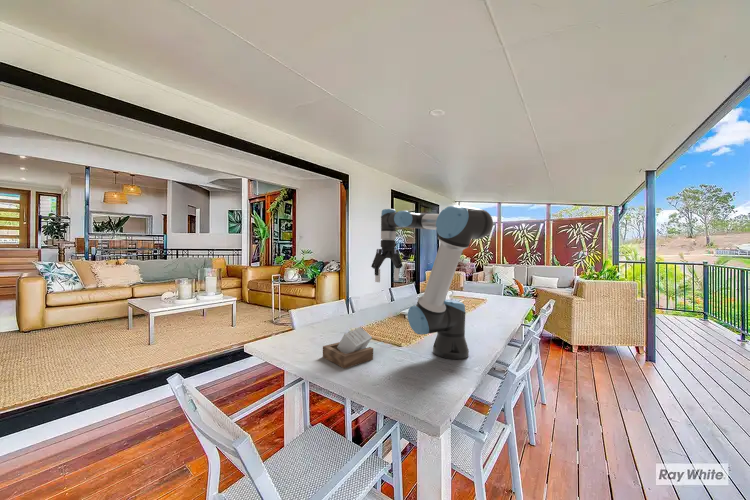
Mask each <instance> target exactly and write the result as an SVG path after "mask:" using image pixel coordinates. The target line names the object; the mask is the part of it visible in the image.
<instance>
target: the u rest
mask: <svg viewBox="0 0 750 500" xmlns="http://www.w3.org/2000/svg"><path fill="white" fill-rule="evenodd" d="M339 343H340V341H337V342H335V343H331V344H326V345H323V346H322V358H324V359H326V360H327V361H329V362H331V363H333V364H334V365H337V366H339V367H341V368H343V369H345V370H346V368H347V369H348V368H350V367H353V366H356V365H359V364H363V363H366V362H368V361H372V360H374V347H371V346H369V347H366V348H365V349H361V350H358V351H354V352H351V353H347V354H345V353H343V352H341V351H340V350H339V349H338V348H337V346H338V345H339Z"/></svg>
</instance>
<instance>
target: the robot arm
mask: <svg viewBox="0 0 750 500" xmlns="http://www.w3.org/2000/svg"><path fill="white" fill-rule="evenodd" d="M493 226H494V220H493V217H492V215H491V214H490V213H489V212H488V211H487V210H484V209H482V208H479V207H477V208H476V207H470V206H463V205H449V206H447V207H445V208H443V209H441V211H440V212H439V213H418V212H411V211H408V210H399V211H396V209H394V208H385V209H382V210H381V216H380V247H381V248H377V249H376V251H375V252H376V253H375V256H374V258H373V260H372V264H371V266H370V267H371V268H372V269H374V276H375V278H374V279H375V280H374V281H375V282H374V283H380V282H381V268H380V267H381V266H382V264H384V263H383V262H384V261H385V260H386V259H390V260H391V262H392V263H393V266H394V267H395V268H394V269H393V280H394V281H395V282H398V281H399V280H400V269H402V267H403V262H402V258H401V256H400V252H399V249H397V248H396V238H397V237H396V234H397V232H396V231H397V230H396V228H407V229H408V228H410V229H422V230H434V231H436V232H437V235H438V237H437V239H438V240H439V247H438V249H437V253H436V256H435V259H434V262H433V265H432V269H431V271H430V274H429V278H428V281H427V284H426V286H425V290H424V293H423V295H420V296H419V297H418V298H417V302H416V305H412V306H410V307H409V309H407V310H408V311H407V322H408V324H409V326H410V329H411V330H412V331H413V332H414V333H415V334H417V335H421V336H422V335H428V334H434V333H437V334H436V338H435V339H434V343H433V344H432V345H433V346H432V352H433V354H434V355H436V356H438V357H440V358H443V359H444V358H445V359H448V360H449V359H450V360H462V359H466V358H468V357H469V356H470V355H469V346H468V343H467V340H466V336H465V335H466V333H465V332H466V313H467V312H466V304H464V303H463V302H461V301H458V300H451V299H446V298H447V296H448V292H449V290H450V287H451V284H452V282H453V278H454V276H455V273H456V270H457V268H458V264H459V262H460V259H461V257H462V254H463V251H464V250H466V249H468V248H469V247H470V245H471V241H472V240H480V239H483V238H485V237H487V236H488V235H489V234H490V233H491V232H492V230H493V228H494V227H493ZM395 248H396V249H395ZM467 356H468V357H467Z"/></svg>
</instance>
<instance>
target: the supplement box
mask: <svg viewBox="0 0 750 500" xmlns="http://www.w3.org/2000/svg"><path fill="white" fill-rule="evenodd" d="M372 338H373V337H372V336H371V335H370V334H369V332H368V331H366V330H365V329H364V328H363V327H362V326H360V327H357V328H355V329H353V330H351V331H349V332H347V333H344V335H343V336H342V338H341V340H340V341H339V342H340V343H339V345H338V346H337V348H338V349H339V350H340V351H341V352H343V353H345V354H347V353H351V352H354V351H358V350H361V349H365V348H367V346H368V345H369V343H370V341H371V340H372Z"/></svg>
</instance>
